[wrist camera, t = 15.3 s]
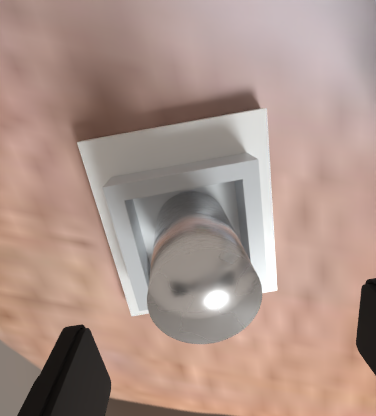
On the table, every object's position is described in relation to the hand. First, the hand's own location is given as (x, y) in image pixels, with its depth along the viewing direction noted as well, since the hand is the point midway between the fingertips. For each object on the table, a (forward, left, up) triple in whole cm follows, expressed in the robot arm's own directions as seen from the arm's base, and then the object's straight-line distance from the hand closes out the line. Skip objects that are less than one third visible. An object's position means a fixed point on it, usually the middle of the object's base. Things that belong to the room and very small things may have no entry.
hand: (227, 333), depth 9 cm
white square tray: (+1, +1, -12) cm, 12 cm away
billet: (+1, 0, -10) cm, 10 cm away
